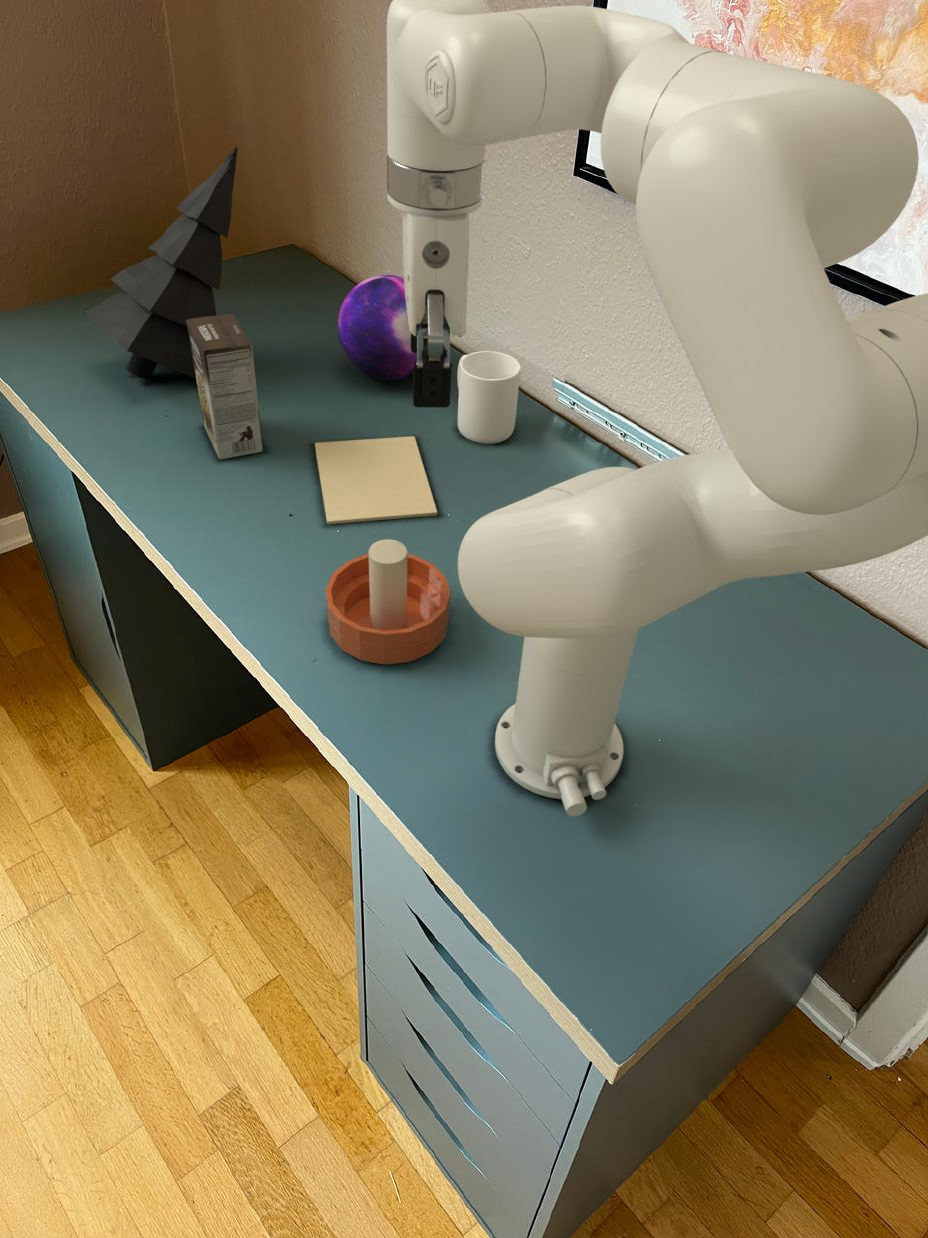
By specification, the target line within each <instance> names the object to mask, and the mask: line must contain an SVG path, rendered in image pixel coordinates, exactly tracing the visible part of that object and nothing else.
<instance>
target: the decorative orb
mask: <svg viewBox="0 0 928 1238" xmlns="http://www.w3.org/2000/svg"><path fill="white" fill-rule="evenodd" d="M337 317H338V318H337V335H338V339H339V343H340V345H341V349H342V350H343V352H344V354H345V356H346V357H347V359H348V360H349V361H350V363H351V364H352V365H353V366H354V367H355V368H357V369H358V370H359V371H361V372H362V373H363V374H364V375H365V374H366V375H368V376H370V377H372V378H375V379H379V380H388V381H389V380H391V381H392V380H399V379H403V378H406V377H409V376H410V375H413V374H414V362H417V353H413V352H412V351H411V332H410V331H409V324H408V316H407V308H406V298H405V287H404V277H402V276H400V275H393V274H379V275H375V276H371V277H369V278H366V279H363V281H361V282H359V283H357V284H356V286H354V287H353V288H352V289H351V290H350V291H349V293H348V294H347V295H346V297H345V298H344V300H343V302H342V304H341V306H340V309H339V313H338V316H337Z"/></svg>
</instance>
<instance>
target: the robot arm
mask: <svg viewBox="0 0 928 1238" xmlns="http://www.w3.org/2000/svg"><path fill="white" fill-rule="evenodd" d="M386 106H387V107H386V111H387V112H386V120H387V121H386V126H387V127H386V129H387V133H386V134H387V137H386V138H387V139H386V141H387V142H386V143H387V149H386V150H387V151H386V152H387V155H386V156H387V158H386V159H387V162H386V163H387V165H386V166H387V168H386V169H387V170H386V172H387V173H386V174H387V175H386V177H387V178H386V179H387V181H386V184H387V190H386V193H387V195H386V196H387V201H388V203H389V204H390V205H391V206H392V207H393V208H395V209H397V210H399V211H402V269H403V271H402V272H403V278H404V287H405V298H406V308H407V316H408V324H409V331H410V332H411V351H412V352H413V353H417V362H414V373H413V374H412V375H413V377H412V378H413V383H412V385H413V387H412V405H413V406H414V407H415V408H438V409H439V408H443V409H445V408H448V407H450V405H451V392H452V390H451V389H452V368H453V365H452V364H453V363H452V362H451V336H458V338H462V337H464V336H465V335H466V333H467V313H468V312H467V310H468V309H467V308H468V285H469V282H468V281H469V259H470V213H473V212H475V211H477V210H479V208H480V207H481V206H482V202H483V190H484V189H483V187H484V174H485V155H486V146H488V145H494V144H499V143H505V142H510V141H515V140H519V139H525V138H531V137H537V136H541V135H548V134H554V133H559V132H567V131H573V130H584V131H590V132H595V133H598V134H600V157H601V163H602V168H603V171H604V174H605V177H606V179H607V181H608V183H609V184H610V185H611V187H612V189H613V190H614V192H615V193H616V194H617V195H618V196H619V197H620V198H621V199H623V200H625V201H626V202H628V203H630V204H633V205H635V215H636V227H637V233H638V237H639V242H640V245H641V248H642V252H643V257H644V259H645V262H646V266H647V268H648V271H649V273H650V276H651V279H652V280H653V283H654V285H655V287H656V290H657V292H658V295H659V298H660V301H661V303H662V304H663V307H664V309H665V312H666V314H667V316H668V318H669V321H670V322H671V326H672V327H673V329H674V331H675V334H676V335H677V338H678V340H679V342H680V344H681V346H682V348H683V351H684V352H685V355H686V357H687V359H688V361H689V364H690V365H691V368H692V370H693V372H694V374H695V376H696V379H697V381H698V383H699V386H700V388H701V389H702V391H703V394H704V397H705V399H706V401H707V403H708V405H709V408H710V409H711V411H712V414H713V417H714V418H715V420H716V423H717V425H718V427H719V429H720V431H721V434H722V436H723V438H724V440H725V442H726V443H727V445H728V447H725V448H720V449H716V450H715V449H714V450H710V451H704V452H697V453H689V454H684V455H677V456H673V457H668V458H664V459H661V460H658V461H655V462H653V463H650V464H648V465H644V466H641V467H640V468H637V469H635V468H630V467H625V466H609V467H603V468H598V469H594V470H590V471H587V472H584V473H580V474H579V475H575V476H574V477H572V478H569V479H566V480H564V481H562V482H559V483H557V484H554V485H552V486H549V487H546V488H544V489H542V490H541V491H539V492H537V493H535V494H533V495H530V496H527V497H525V498H523V499H521V500H518V501H515V502H513V503H511V504H508V505H506V506H503V507H500V508H498V509H496V510H493V511H491V512H489V513H487V514H485V515H483V516H482V517H480V518H478V519H477V520H476V521H475V522H474V523H473V524H472V525H471V526H470V527H469V528H468V529H467V531H466V533H465V535H464V537H462V538H463V539H462V541H461V542H460V546H459V550H458V556H457V574H458V580H459V584H460V588H461V590H462V592H463V595H464V596H465V598H466V601H467V602H468V603H469V605H470V606H471V607H472V609H473V610H474V611H475V612H476V614H477V615H478V616H479V617H481V618H482V619H483V620H484V621H485V622H486V623H488V624H489V625H491V626H492V627H494V628H495V629H497V630H499V631H502V632H504V633H507V634H509V635H513V636H516V637H522V638H523V642H522V643H523V644H522V653H521V659H520V667H519V675H518V683H517V689H516V697H515V702H514V703H513V704H512V705H511V706H509V708H507V709H506V710H505V712H504V713H503V714H502V716H501V717H500V719H499V721H498V722H497V725H496V730H495V736H494V748H495V755H496V757H497V759H498V763H499V765H500V766H501V767H502V769H503V770H504V772H505V773H506V774H507V775H508V776H509V777H510V778H511V779H512V781H514V782H515V783H516V784H518V785H519V786H521V787H522V788H523V789H525V790H528V791H530V792H531V793H533V794H536V795H539V796H542V797H546V798H550V799H557V800H561V801H562V804H563V808H564V811H565V813H566V814H567V816H570V817H577V816H580V815H582V814H584V813H585V812H586V811H587V810H588V807H587V803H586V800H585V797H588V796H591V799H592V800H595V801H598V800H602V799H603V798H605V797H606V795H607V790H606V789H605V788H606V787H607V786H609V784H611V782H613V780H614V779H615V778H616V776H617V774H618V773H619V771H620V768H621V765H622V762H623V758H624V752H625V751H624V741H623V737H622V734H621V731H620V729H619V728H618V726H617V724H616V719H617V715H618V712H619V707H620V703H621V700H622V695H623V691H624V688H625V683H626V680H627V675H628V672H629V668H630V663H631V661H632V656H633V651H634V649H635V645H636V642H637V637H638V634H639V630H640V629H641V628H643V627H645V626H648V625H650V624H652V623H654V622H655V621H657V620H659V619H662V618H663V617H665V616H667V615H669V614H670V613H672V612H674V611H676V610H678V609H680V608H682V607H684V606H686V605H687V604H689V603H691V602H693V601H695V600H697V599H698V598H701V597H702V596H704V595H706V594H709V593H710V592H712V591H714V590H716V589H718V588H721V587H722V586H724V585H727V584H730V583H733V582H738V581H741V580H749V579H758V578H767V577H768V578H769V577H779V576H780V577H781V576H785V575H786V576H787V575H793V574H800V573H801V574H802V573H808V572H818V571H823V570H831V569H832V570H833V569H837V568H842V567H843V568H844V567H846V566H852V565H856V564H860V563H864V562H868V561H871V560H874V559H877V558H880V557H883V556H885V555H888V554H891V553H894V552H896V551H899V550H900V549H901V550H902V549H903V548H905V547H908V546H910V545H912V544H914V543H916V542H917V541H920V540H922V539H924V538H925V537H927V536H928V293H923V294H918V295H915V296H911V297H908V298H904V299H902V300H898V301H895V302H892V303H889V304H886V305H884V306H881V307H878V308H876V309H872V310H870V311H867V312H863V313H861V314H858V315H856V316H853V317H849V318H847V316H846V314H845V312H844V311H843V308H842V306H841V304H840V302H839V299H838V297H837V295H836V292H835V291H834V289H833V286H832V284H831V282H830V280H829V277H828V275H827V273H826V271H825V269H826V268H828V267H831V266H833V265H837V264H839V263H842V262H844V261H847V260H849V259H851V258H853V257H854V256H857V255H858V254H860V253H861V252H863V251H865V250H866V249H868V247H870V246H872V245H873V244H874V243H875V242H877V241H878V240H879V239H881V237H882V236H883V235H885V234H886V233H887V232H888V231H889V230H890V228H891V227H892V226H893V225H894V224H895V223H896V221H897V220H898V218H899V217H900V215H901V214H902V212H903V211H904V209H905V207H906V206H907V203H908V202H909V199H910V198H911V196H912V192H913V190H914V187H915V183H916V180H917V175H918V171H919V161H920V157H919V148H918V141H917V138H916V134H915V130H914V128H913V126H912V124H911V123H910V120H909V119H908V117H907V116H906V115H905V113H904V112H903V111H902V110H901V108H900V107H899V106H898V105H897V104H895V102H893V101H892V100H891V99H889V98H888V97H886V96H885V95H883V94H881V93H880V92H878V91H876V90H874V89H872V88H869V87H867V86H864V85H862V84H858V83H854V82H851V81H849V80H845V79H841V78H838V77H837V78H836V77H832V76H828V75H823V74H819V73H816V72H812V71H811V72H810V71H807V70H803V69H800V68H799V69H798V68H794V67H790V66H785V65H781V64H778V63H777V64H776V63H772V62H767V61H763V60H759V59H754V58H751V57H746V56H741V55H736V54H733V53H728V52H726V51H722V50H721V51H720V50H717V49H713V48H709V47H705V46H701V45H697V44H694V43H690V41H688V39H686V38H685V36H683V35H682V34H681V33H680V32H679V31H678V30H677V29H676V28H675V27H673V26H672V25H670V24H668V23H665V22H663V21H660V20H657V19H653V18H649V17H645V16H640V15H635V14H631V13H627V12H621V11H617V10H612V9H607V8H602V7H597V6H589V5H560V6H559V5H557V6H543V7H534V8H524V9H515V10H514V9H513V10H504V11H495V12H491V9H490V7H489V5H488V4H487V2H486V1H484V0H392V1H391V2H390V5H389V8H388V11H387V15H386Z"/></svg>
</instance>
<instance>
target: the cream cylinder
mask: <svg viewBox="0 0 928 1238" xmlns="http://www.w3.org/2000/svg"><path fill="white" fill-rule="evenodd" d="M368 554H369V586H370V621H371V625H372V627H373V628H374V629H379V630H384V631H387V630H396V629H403V628H404V627H405V625H406V622H407V554H408V549H407V547H406V545H404V543H402V542H401V541H399V540H395V539H380V540H377V541H375V542H374V543H372V544H371V545H370V547H369V549H368Z"/></svg>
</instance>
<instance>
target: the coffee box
mask: <svg viewBox="0 0 928 1238" xmlns="http://www.w3.org/2000/svg"><path fill="white" fill-rule="evenodd" d="M186 323H187V328H188V334H189V340H190V345H191V351H192V357H193V363H194V369H195V375H196V378H195V379H196V385H197V391H198V392H197V393H198V399H199V403H200V409H201V415H202V421H203V427H204V430H205V432H206V434H207V436H208V438H209V440H210V442H211V444H212V447H213V449H214V451H215V454H216V455H217V458H218V459H219V460H225V459H229V458H235V457H240V456H246V455H251V454H258V453H261V452H262V453H263V452H264V447H263V437H262V427H261V419H260V409H259V399H258V398H259V397H258V388H257V379H256V371H255V361H254V352H253V344H252V341H251V340H250V338H249V337H248V336H247V333H246V332H245V331H244V329H243V327H242V326H241V324H240V322H239V321H238V318H237V317H236V316H235V314H234V313H229V314H224V315H216V316H207V317H201V318H194V319H189V320H186Z"/></svg>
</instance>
